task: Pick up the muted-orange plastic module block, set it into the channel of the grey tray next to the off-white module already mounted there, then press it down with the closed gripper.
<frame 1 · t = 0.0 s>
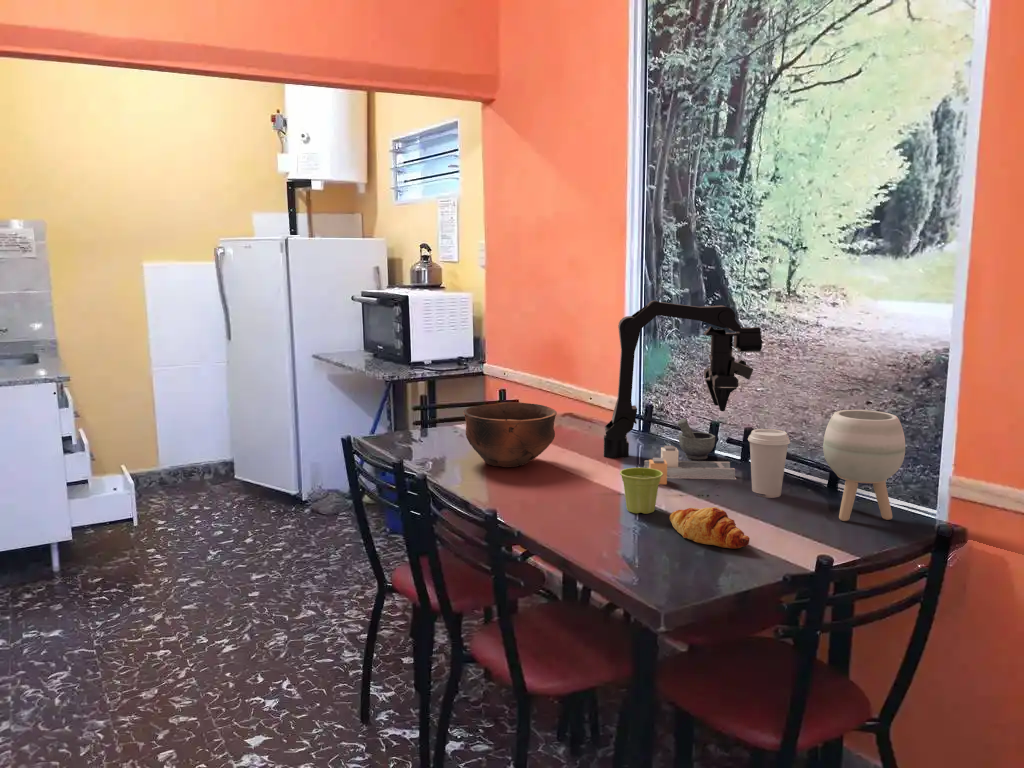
hand: (719, 408, 224), 15 cm above the table, fingers open, 9 cm apart
plant pot: (640, 511, 181), on the table
bowl: (509, 464, 222), on the table
grey tray: (688, 475, 210), on the table
planter: (858, 517, 176), on the table
croissant: (707, 539, 163), on the table
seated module: (669, 471, 210), point 1 cm above the table, touching grey tray
mortar and pestle: (694, 460, 227), on the table
module: (657, 485, 201), on the table
coffee cup: (766, 494, 193), on the table
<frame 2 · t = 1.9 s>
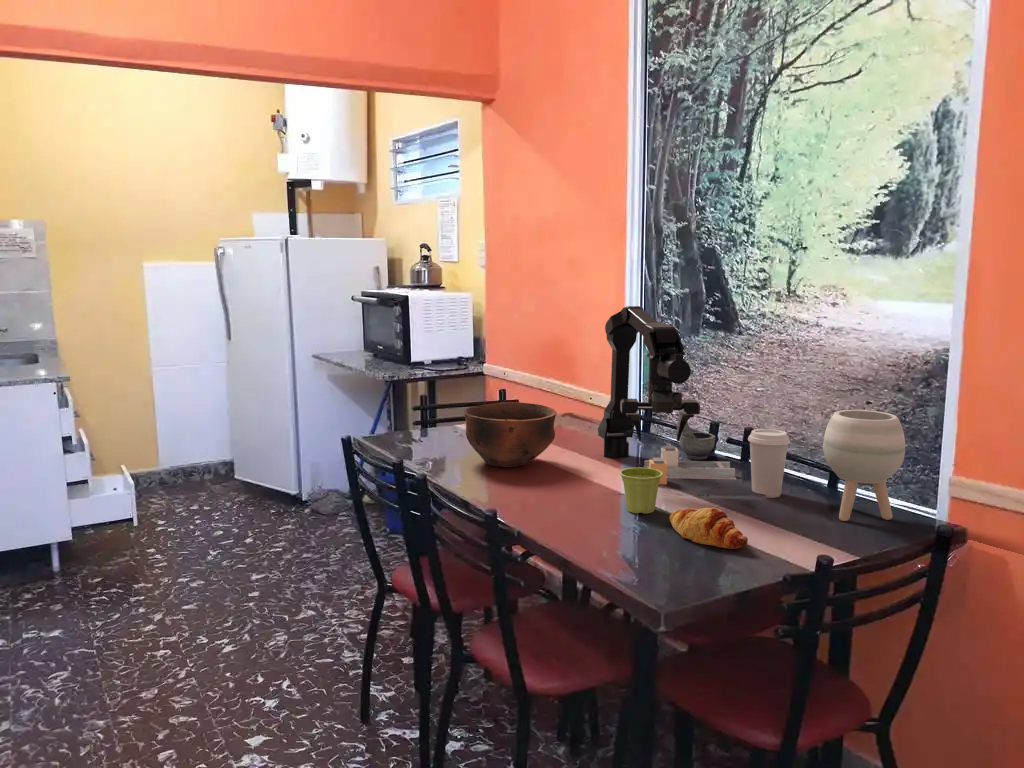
hand: (658, 440, 199), 11 cm above the table, fingers open, 9 cm apart
nothing on the table moved.
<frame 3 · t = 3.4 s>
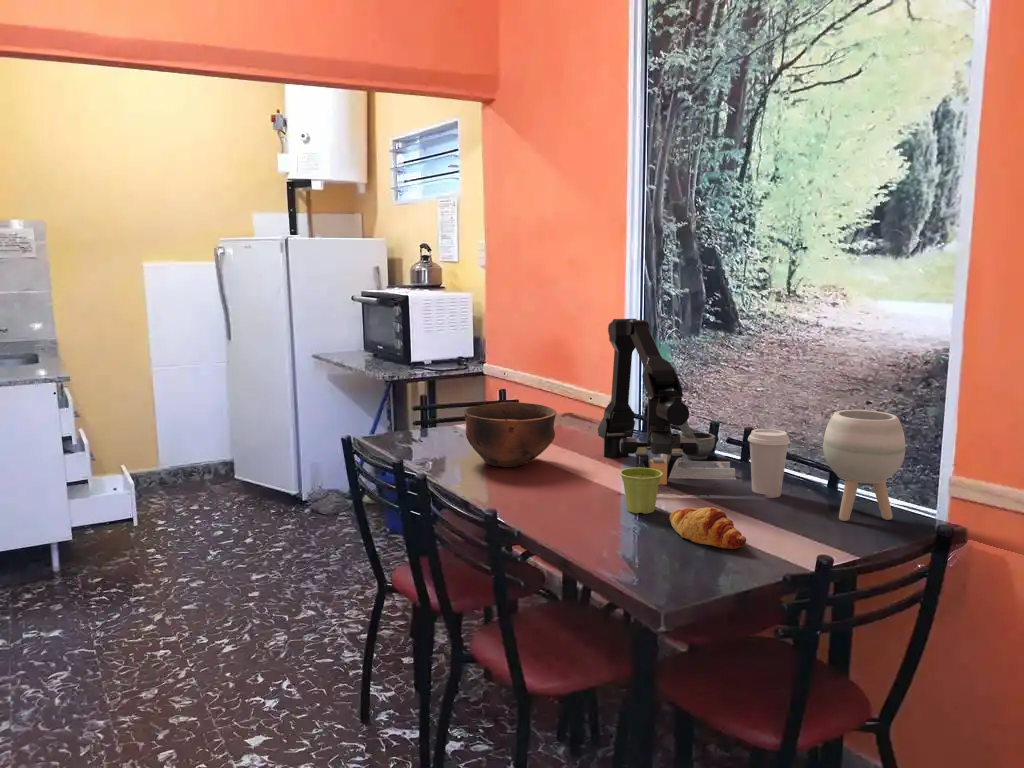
hand: (657, 480, 201), 1 cm above the table, fingers closed on module, 4 cm apart
module: (657, 485, 201), on the table, touching gripper
everything else where it was.
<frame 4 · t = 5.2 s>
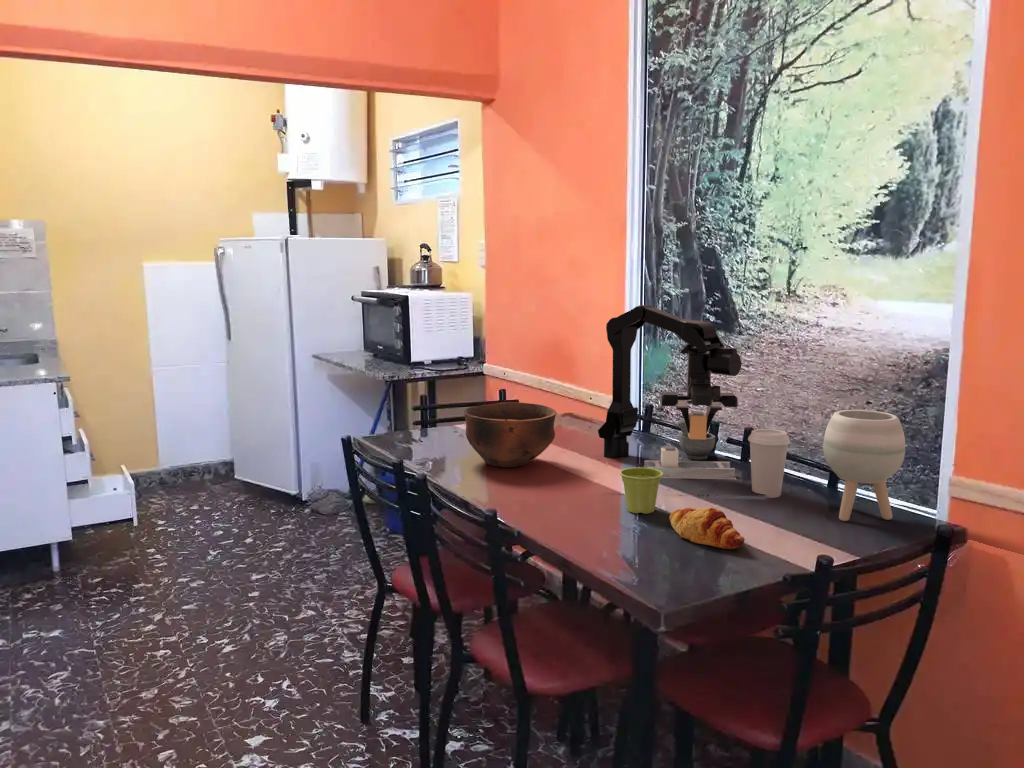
hand: (697, 432, 207), 11 cm above the table, fingers closed on module, 4 cm apart
module: (697, 437, 207), point 10 cm above the table, touching gripper
everything else where it was.
when the fingers open (3 cm above the table, at t = 7.3 s): module stays where it is, resting on grey tray.
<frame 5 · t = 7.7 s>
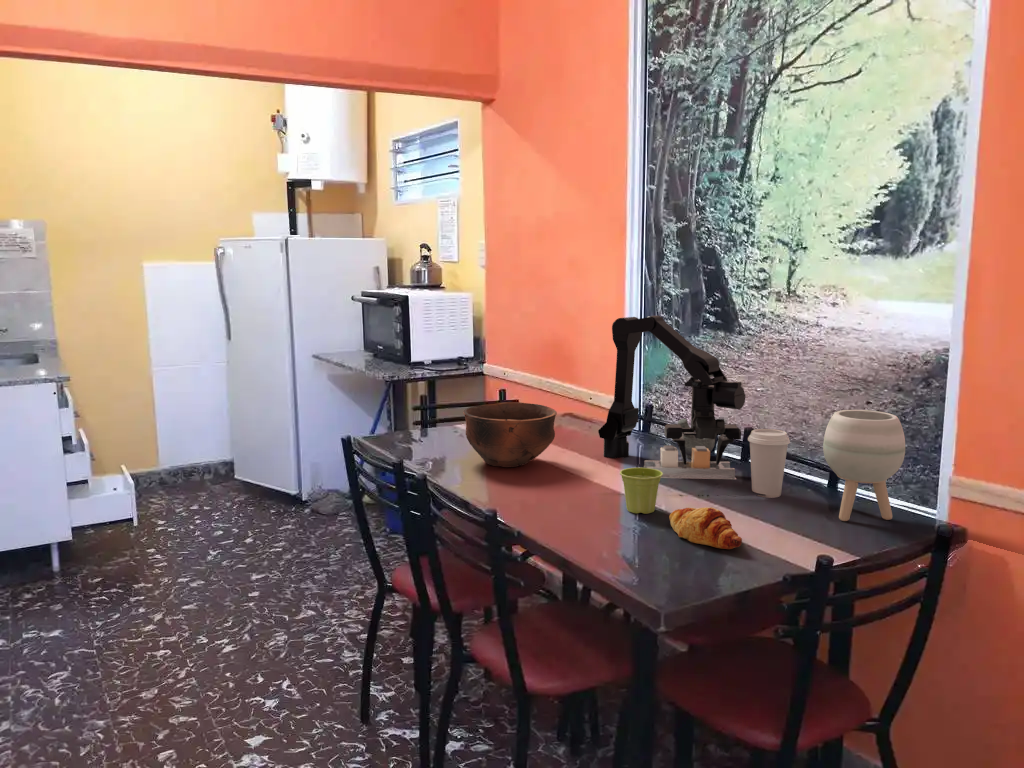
hand: (701, 464, 209), 3 cm above the table, fingers open, 8 cm apart
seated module: (669, 471, 210), point 1 cm above the table, touching gripper, grey tray
module: (700, 472, 210), point 1 cm above the table, touching grey tray
everything else where it was.
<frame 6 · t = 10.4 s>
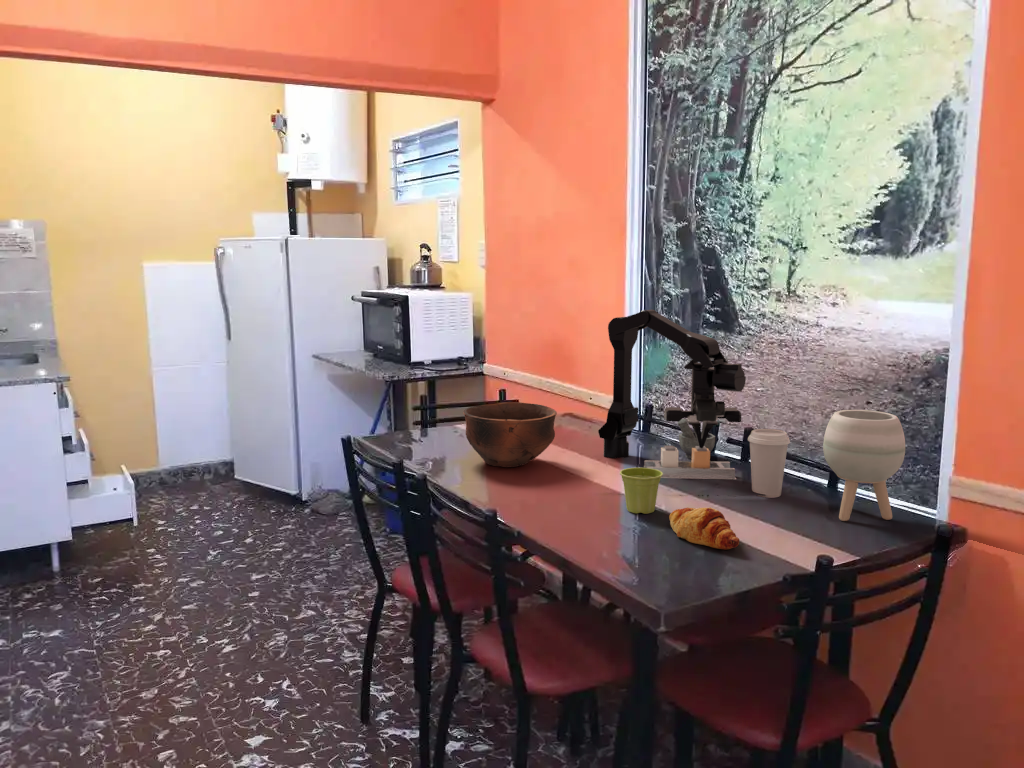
hand: (701, 447, 209), 7 cm above the table, fingers closed, pressing on module
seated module: (669, 471, 210), point 1 cm above the table, touching grey tray
module: (700, 472, 210), point 1 cm above the table, touching gripper, grey tray
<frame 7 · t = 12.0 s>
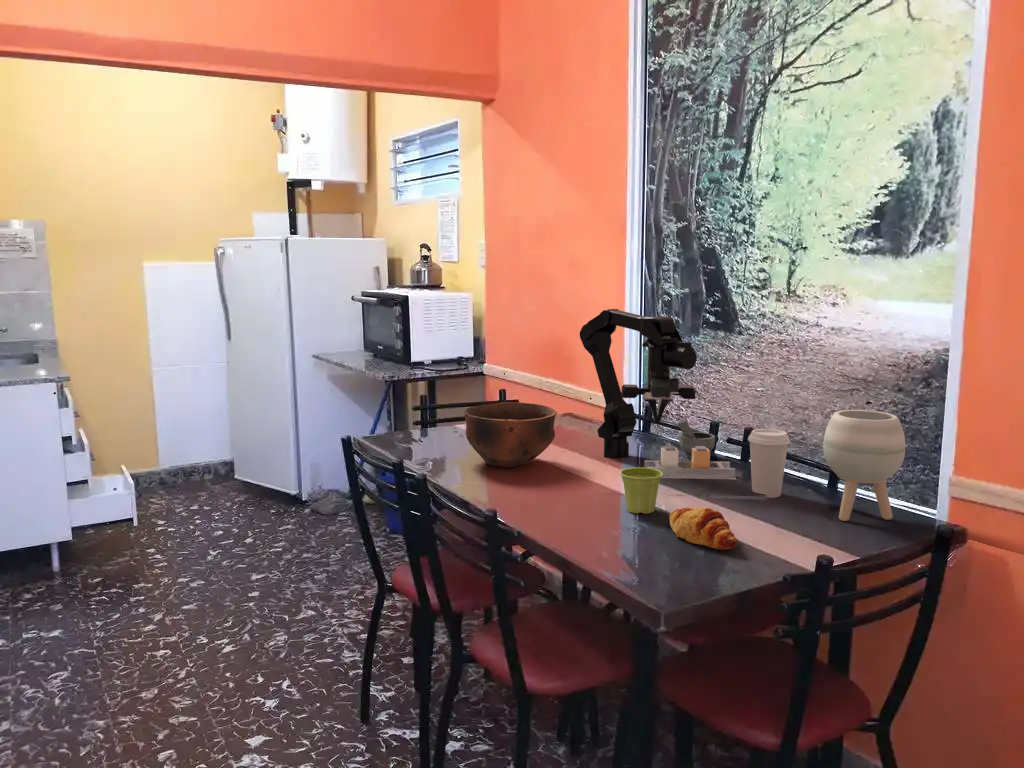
hand: (657, 423, 214), 12 cm above the table, fingers closed
module: (700, 472, 210), point 1 cm above the table, touching grey tray
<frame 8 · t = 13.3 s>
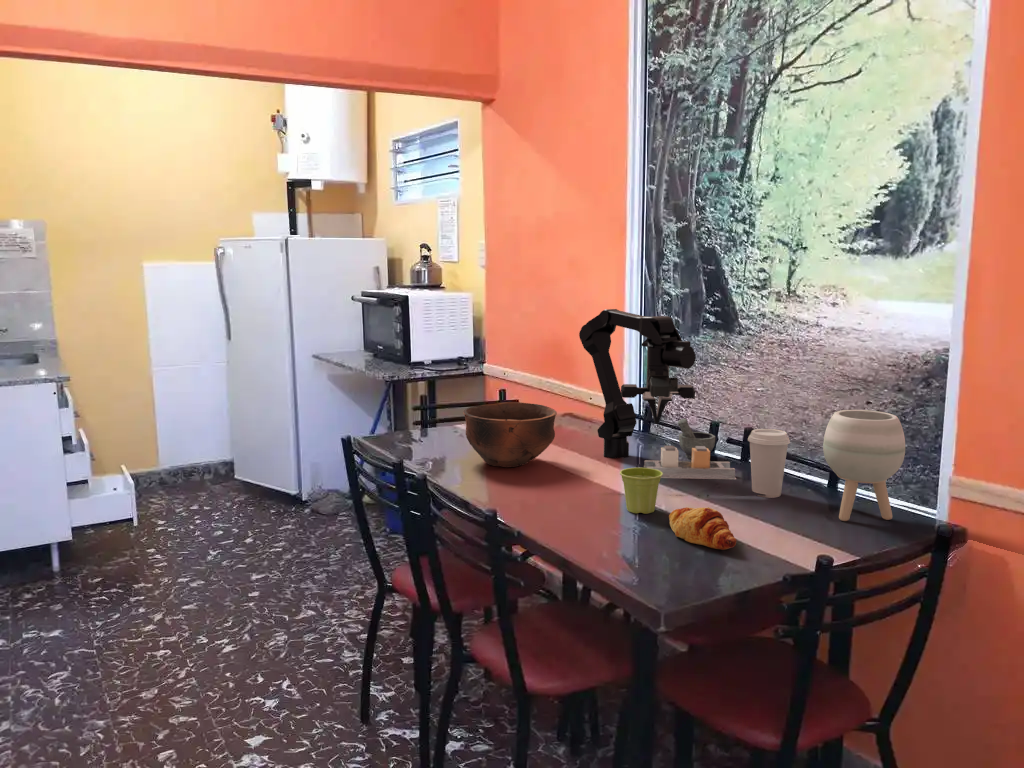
hand: (656, 423, 214), 13 cm above the table, fingers closed
at the end: module 0.0 cm from the target spot on the grey tray, point 0.8 cm above the grey tray's base; module tilted 0°; module touching grey tray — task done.
